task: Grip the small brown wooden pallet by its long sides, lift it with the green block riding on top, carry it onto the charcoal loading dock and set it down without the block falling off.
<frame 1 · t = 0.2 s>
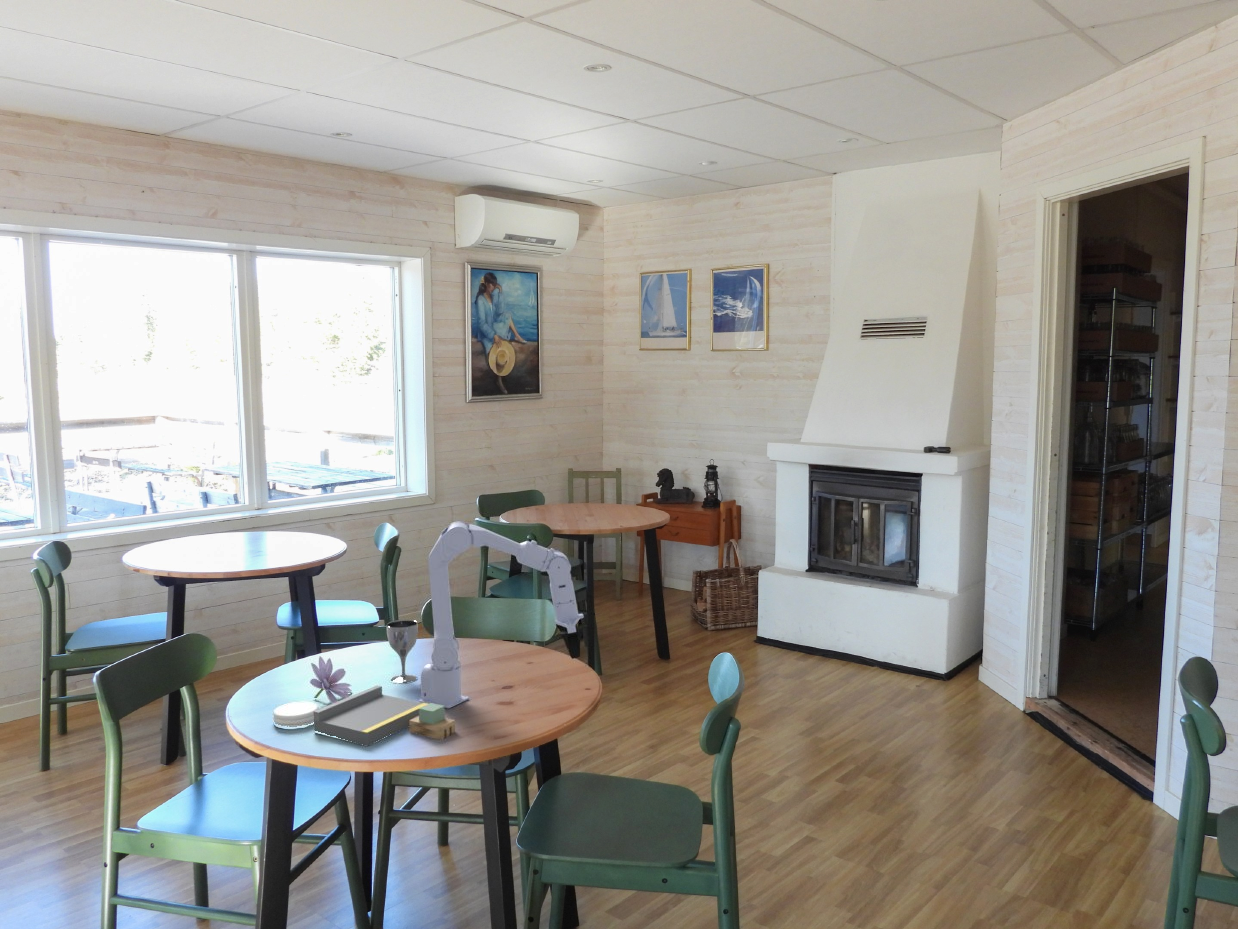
hand: (573, 653, 233), 11 cm above the table, tool pointing down, fingers open, 7 cm apart
pallet: (432, 733, 210), on the table, touching green block
white round disc: (296, 723, 217), on the table
green block: (432, 720, 210), point 3 cm above the table, touching pallet
silver goblet: (403, 680, 247), on the table
dock: (373, 724, 215), on the table
water lily: (332, 702, 231), on the table
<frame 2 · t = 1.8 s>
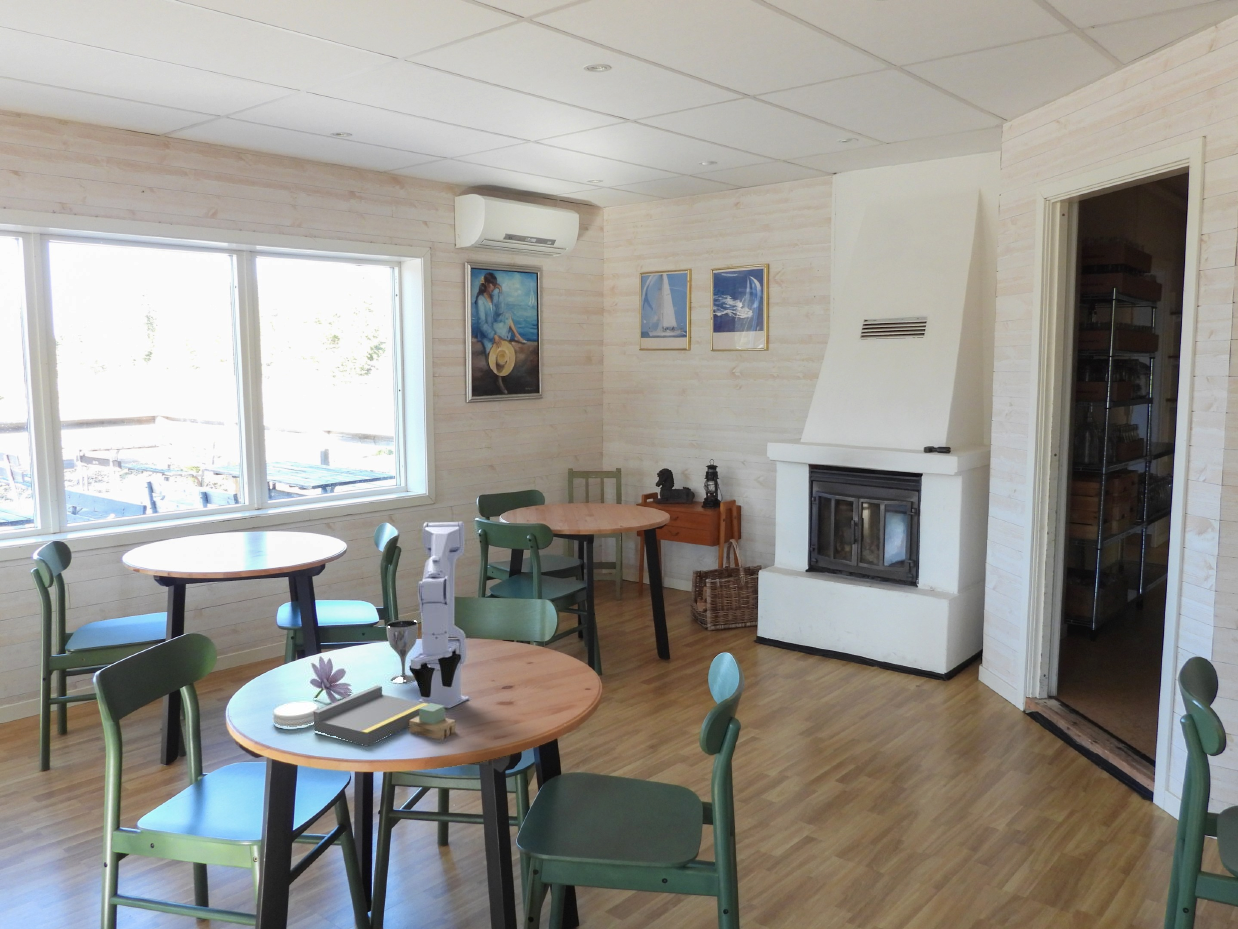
hand: (436, 691, 209), 9 cm above the table, tool pointing down, fingers open, 7 cm apart
nothing on the table moved.
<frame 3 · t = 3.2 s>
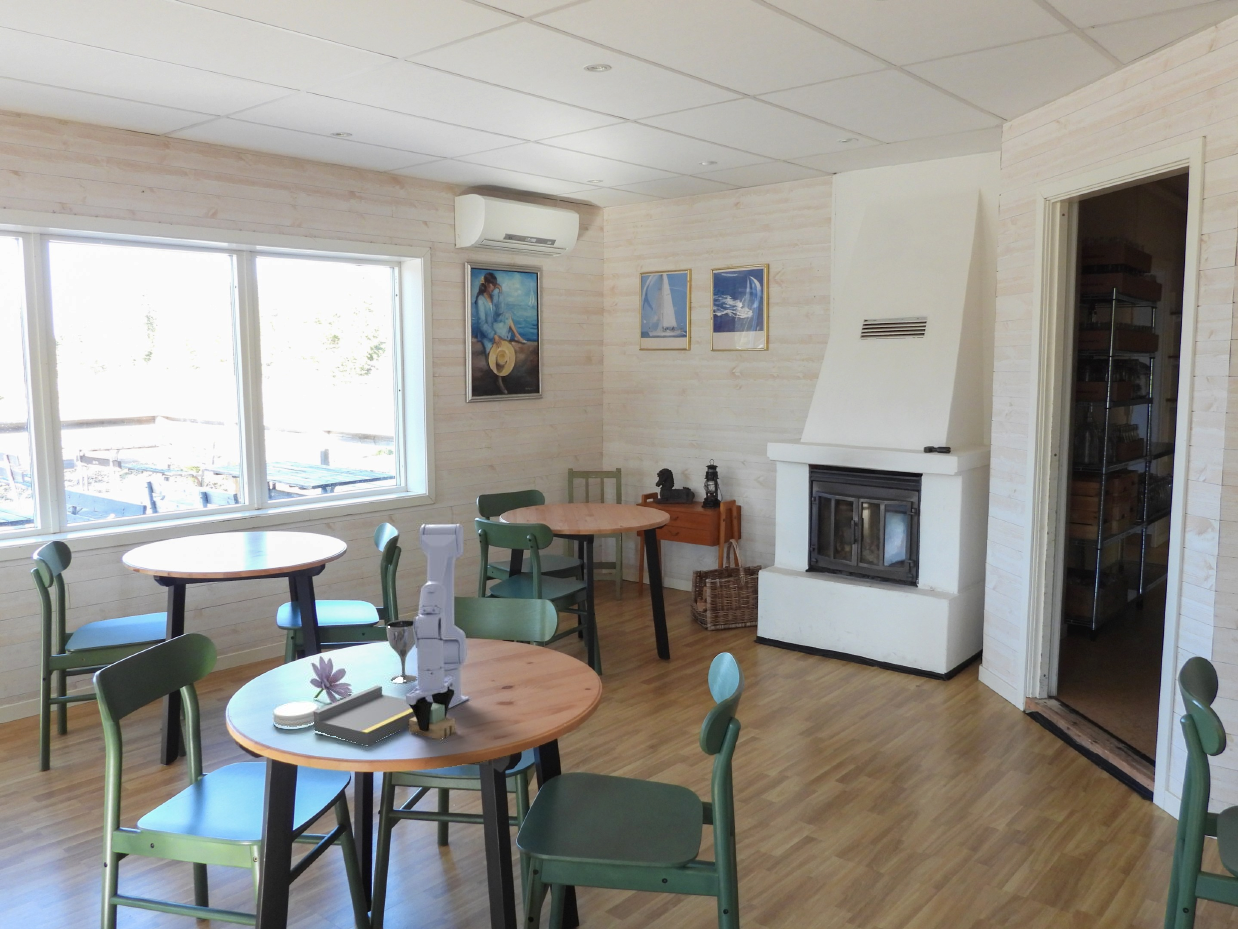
hand: (432, 726, 210), 1 cm above the table, tool pointing down, fingers closed on pallet, 5 cm apart
pallet: (432, 732, 210), on the table, touching green block, gripper
everything else where it was.
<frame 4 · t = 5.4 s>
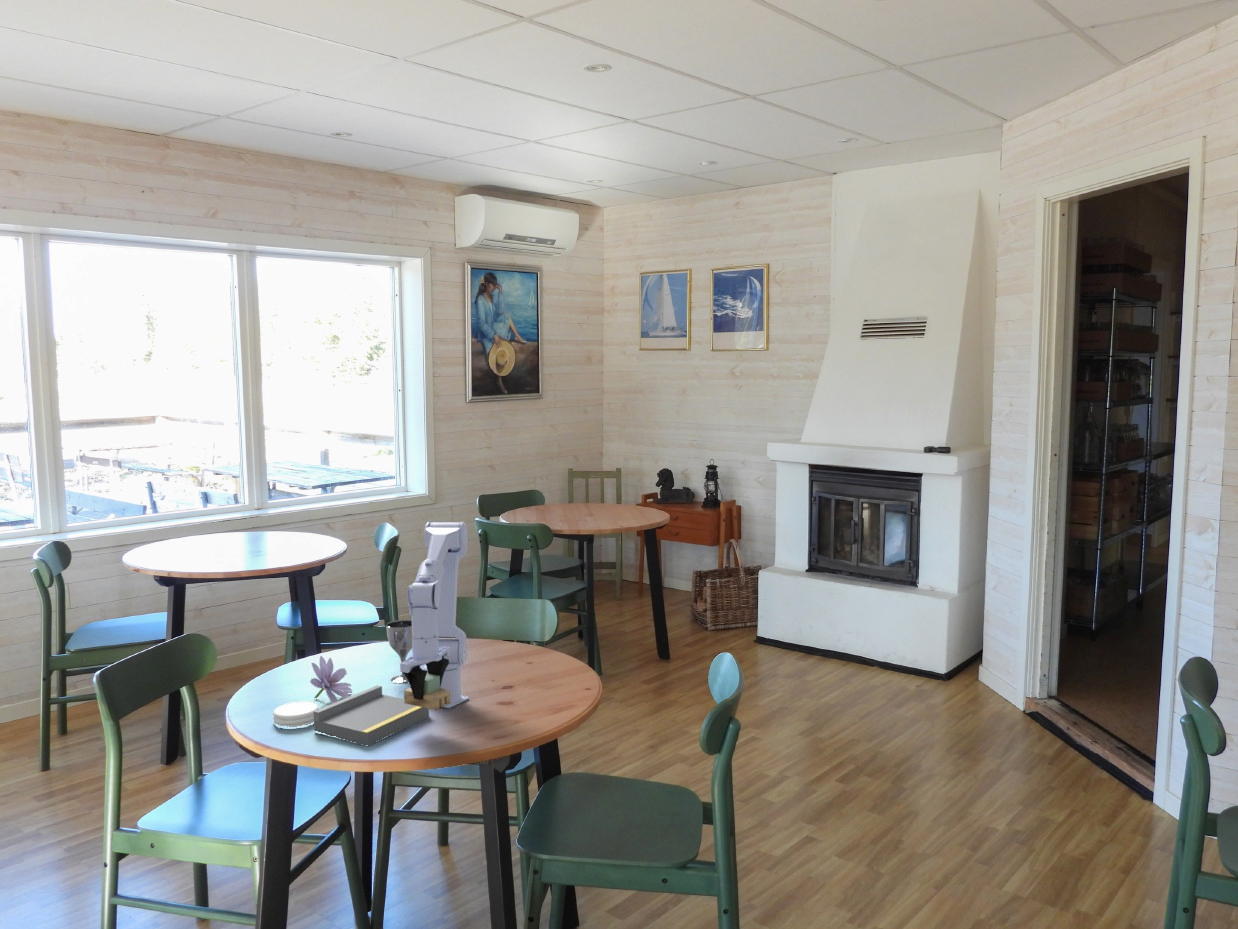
hand: (426, 695, 210), 8 cm above the table, tool pointing down, fingers closed on pallet, 5 cm apart
pallet: (427, 703, 210), point 6 cm above the table, touching green block, gripper
green block: (427, 690, 210), point 9 cm above the table, touching pallet
everything else where it was.
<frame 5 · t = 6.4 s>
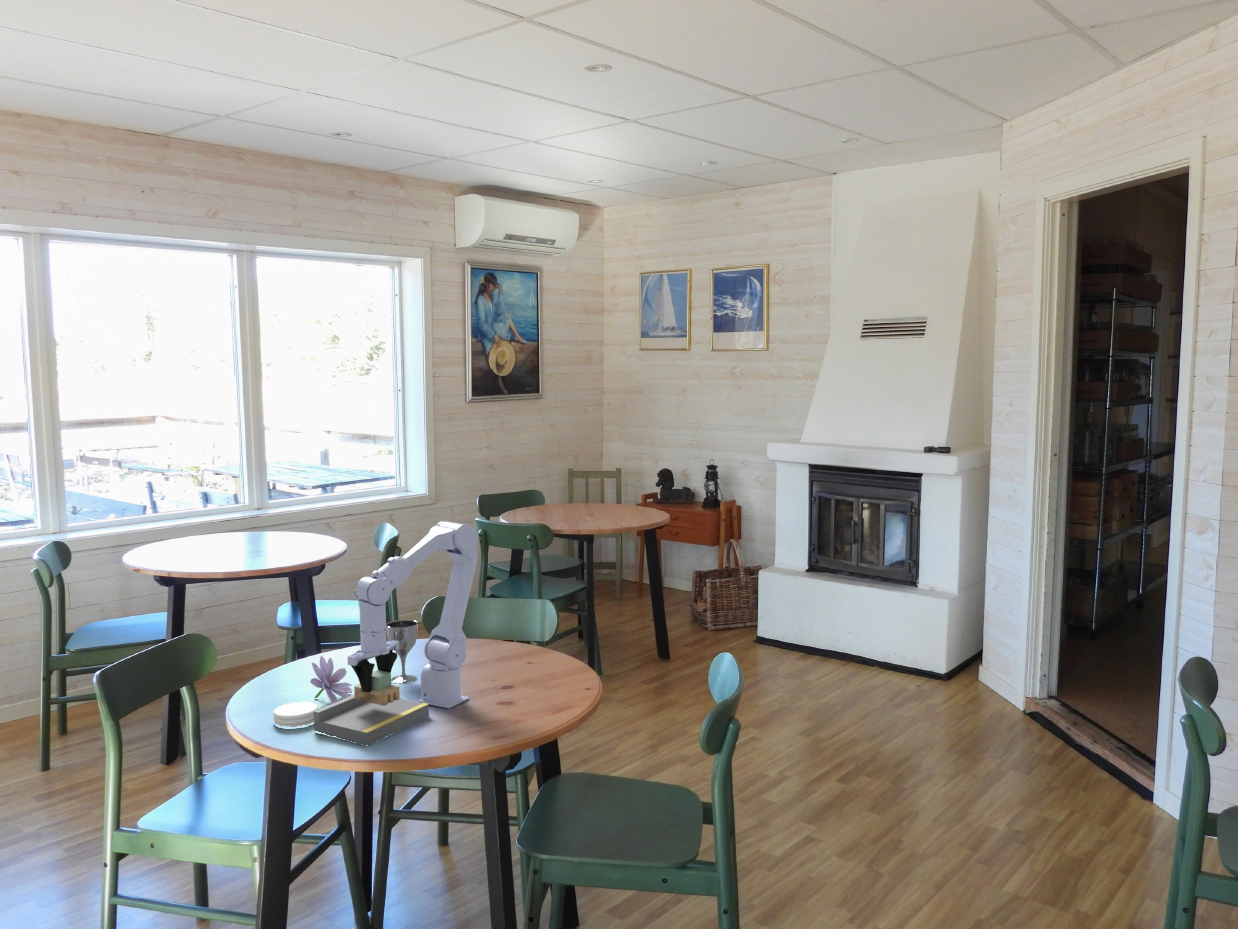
hand: (375, 687, 215), 8 cm above the table, tool pointing down, fingers closed on pallet, 5 cm apart
pallet: (377, 699, 215), point 6 cm above the table, touching green block, gripper
green block: (378, 686, 215), point 9 cm above the table, touching pallet
everything else where it was.
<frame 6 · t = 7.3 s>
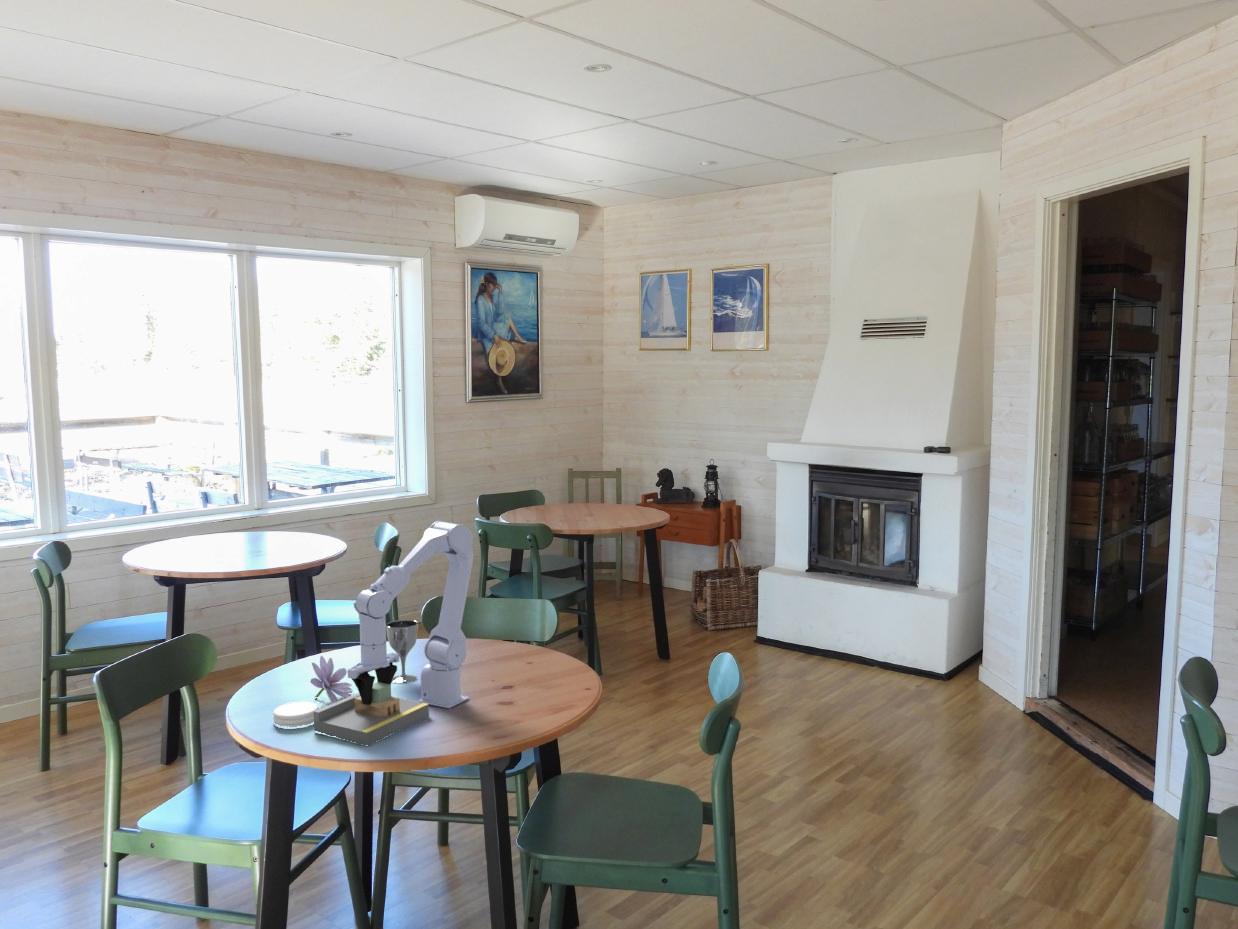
hand: (375, 700, 215), 5 cm above the table, tool pointing down, fingers closed on pallet, 5 cm apart
pallet: (377, 711, 215), point 3 cm above the table, touching green block, dock, gripper
green block: (378, 698, 215), point 6 cm above the table, touching pallet
everything else where it was.
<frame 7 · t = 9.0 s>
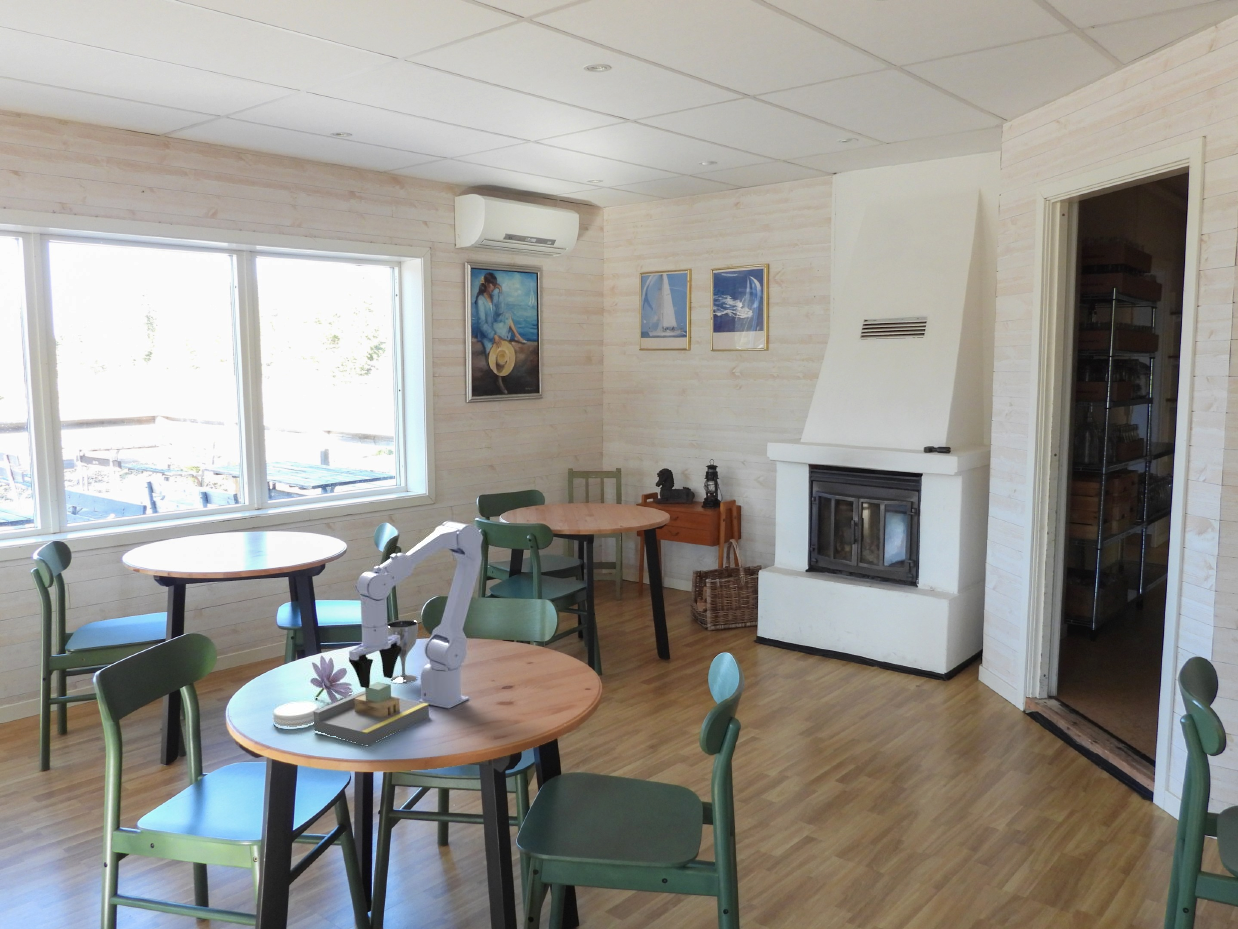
hand: (376, 682, 216), 9 cm above the table, tool pointing down, fingers open, 7 cm apart
pallet: (377, 711, 215), point 3 cm above the table, touching green block, dock
everything else where it was.
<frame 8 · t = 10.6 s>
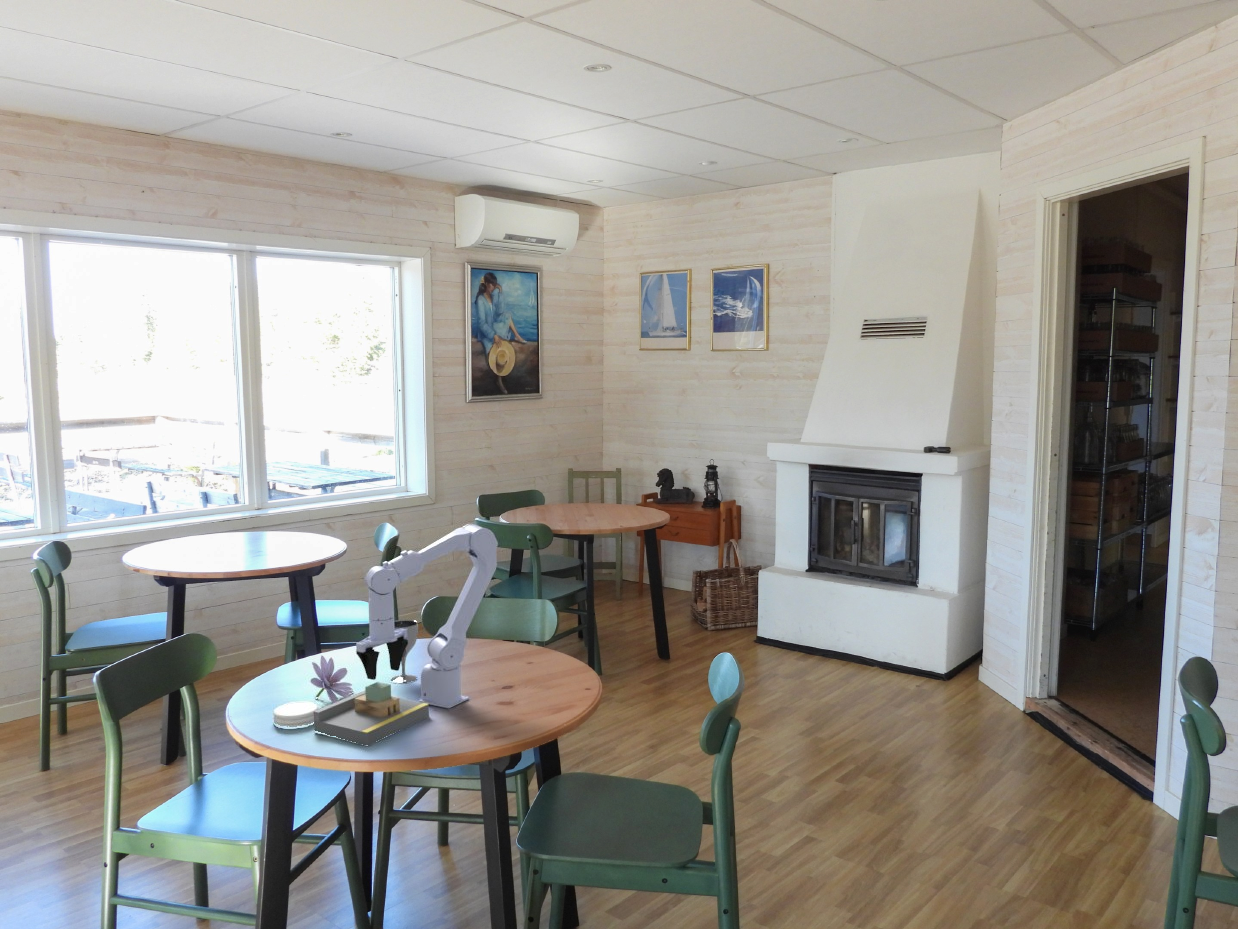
hand: (383, 674, 222), 9 cm above the table, tool pointing down, fingers open, 7 cm apart
nothing on the table moved.
at the end: pallet inside the target area on the dock (0.9 cm from its centre), point 3.0 cm above the dock's base; green block 0.4 cm off-centre on the pallet, point 3.0 cm above the pallet's base; green block tilted 0° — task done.
